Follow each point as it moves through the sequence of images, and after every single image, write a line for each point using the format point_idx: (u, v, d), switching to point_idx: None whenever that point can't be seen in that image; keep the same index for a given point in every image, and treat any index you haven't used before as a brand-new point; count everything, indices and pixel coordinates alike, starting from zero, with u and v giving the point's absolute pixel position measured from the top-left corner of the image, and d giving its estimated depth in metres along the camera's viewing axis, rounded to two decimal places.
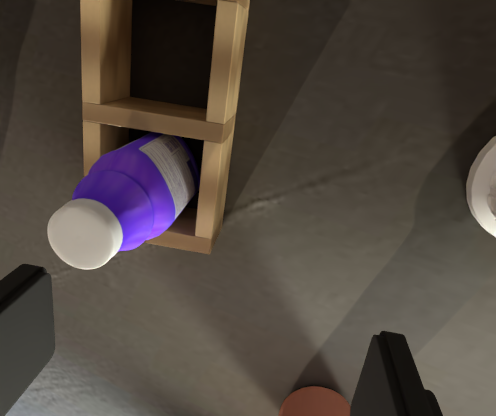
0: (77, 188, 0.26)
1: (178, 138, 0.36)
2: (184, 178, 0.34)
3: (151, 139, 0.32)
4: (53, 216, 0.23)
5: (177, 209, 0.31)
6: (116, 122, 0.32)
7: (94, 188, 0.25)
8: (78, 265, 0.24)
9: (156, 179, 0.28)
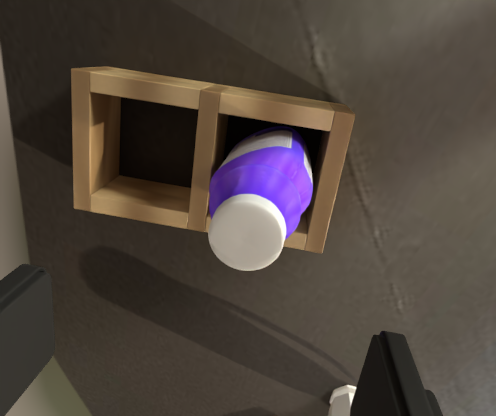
0: None
1: (236, 145, 0.35)
2: (262, 138, 0.31)
3: None
4: (221, 259, 0.22)
5: (281, 144, 0.28)
6: (204, 200, 0.33)
7: None
8: (278, 246, 0.21)
9: (235, 161, 0.27)
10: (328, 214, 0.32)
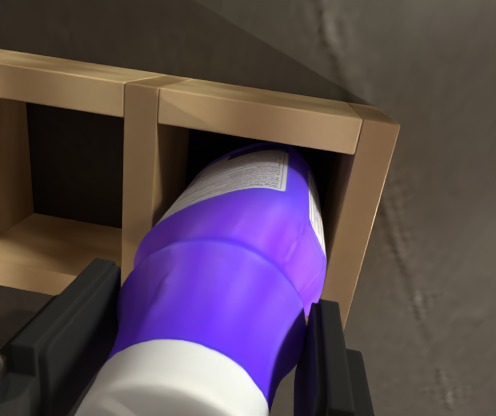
0: None
1: (200, 171, 0.22)
2: (237, 166, 0.18)
3: None
4: None
5: (267, 183, 0.15)
6: None
7: None
8: None
9: (176, 220, 0.14)
10: (349, 291, 0.19)
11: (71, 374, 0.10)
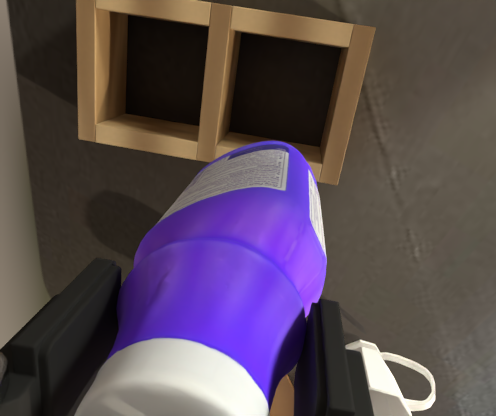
0: None
1: (200, 171, 0.22)
2: (237, 165, 0.18)
3: None
4: None
5: (267, 183, 0.15)
6: (214, 127, 0.31)
7: None
8: None
9: (176, 219, 0.14)
10: (345, 141, 0.30)
11: (71, 374, 0.10)
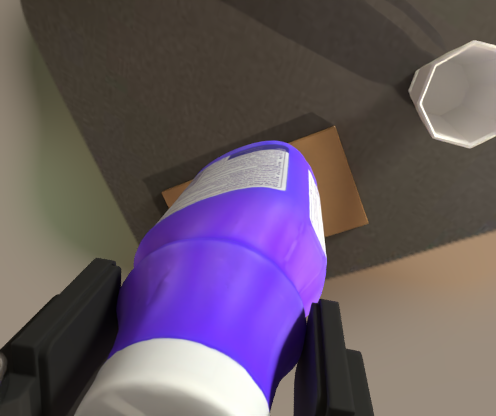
0: None
1: (200, 171, 0.22)
2: (237, 166, 0.18)
3: None
4: None
5: (267, 183, 0.15)
6: None
7: None
8: None
9: (176, 219, 0.14)
10: None
11: (71, 374, 0.10)
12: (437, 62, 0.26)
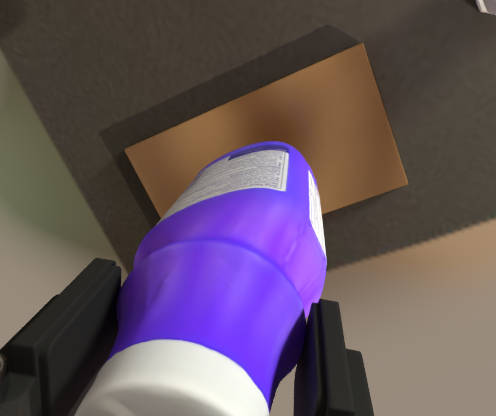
0: None
1: (200, 171, 0.22)
2: (237, 166, 0.18)
3: None
4: None
5: (267, 183, 0.15)
6: None
7: None
8: None
9: (176, 220, 0.14)
10: None
11: (71, 374, 0.10)
12: None
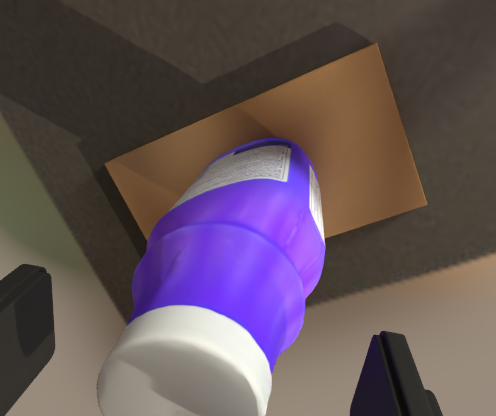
0: None
1: (207, 166, 0.23)
2: (242, 160, 0.19)
3: None
4: None
5: (270, 175, 0.16)
6: None
7: None
8: None
9: (186, 207, 0.15)
10: None
11: None
12: None
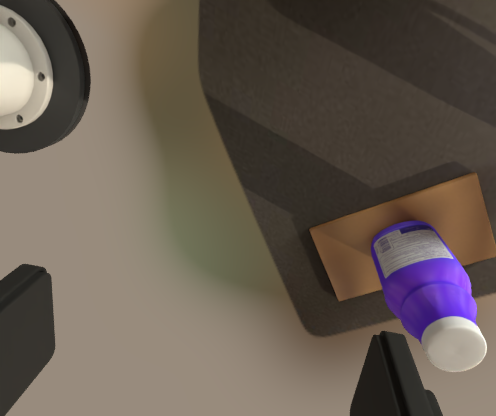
0: (413, 335, 0.33)
1: (379, 236, 0.43)
2: (416, 240, 0.38)
3: (378, 262, 0.39)
4: (433, 364, 0.29)
5: (444, 254, 0.35)
6: None
7: (414, 325, 0.31)
8: (481, 356, 0.28)
9: (413, 271, 0.34)
10: None
11: None
12: None
